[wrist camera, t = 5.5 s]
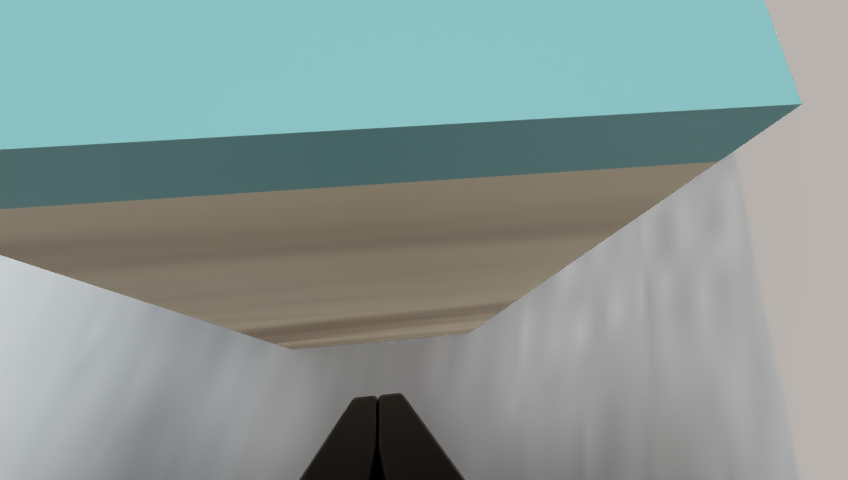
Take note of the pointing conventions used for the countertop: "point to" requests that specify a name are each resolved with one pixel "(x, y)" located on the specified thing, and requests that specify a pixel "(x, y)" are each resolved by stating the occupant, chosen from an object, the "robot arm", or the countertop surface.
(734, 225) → the countertop surface
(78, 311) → the countertop surface
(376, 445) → the robot arm
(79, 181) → the pine block
